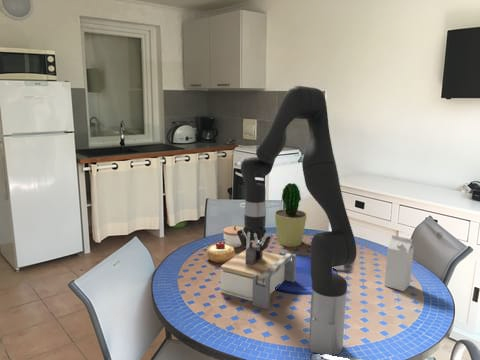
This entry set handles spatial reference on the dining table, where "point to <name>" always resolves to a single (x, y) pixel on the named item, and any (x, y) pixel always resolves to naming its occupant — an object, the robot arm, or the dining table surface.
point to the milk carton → (399, 263)
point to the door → (256, 264)
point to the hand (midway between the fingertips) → (254, 258)
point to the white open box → (257, 284)
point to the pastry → (220, 252)
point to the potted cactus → (290, 218)
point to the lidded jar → (232, 236)
